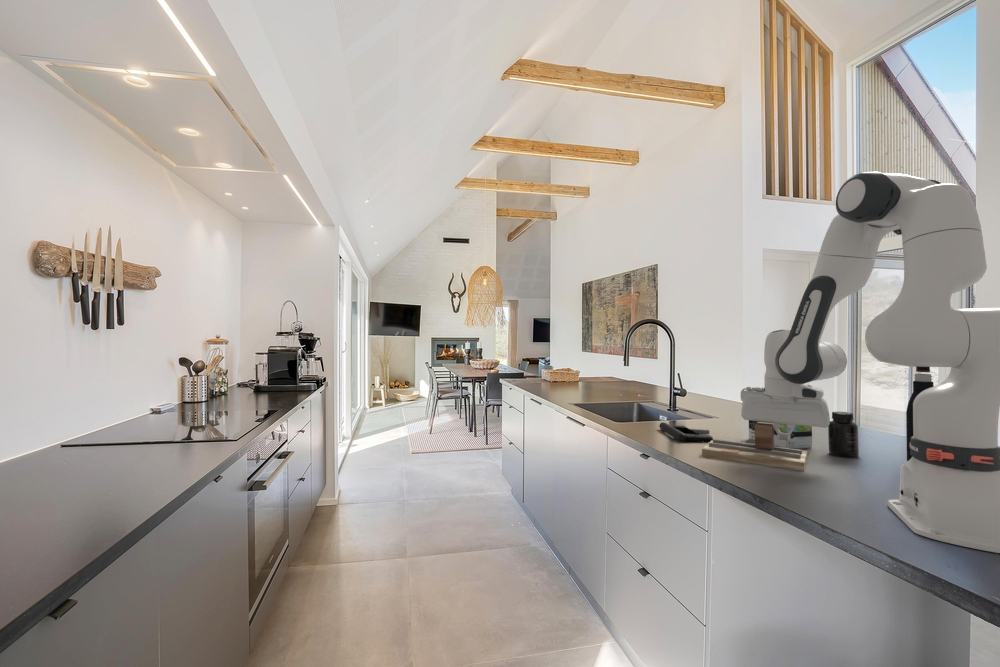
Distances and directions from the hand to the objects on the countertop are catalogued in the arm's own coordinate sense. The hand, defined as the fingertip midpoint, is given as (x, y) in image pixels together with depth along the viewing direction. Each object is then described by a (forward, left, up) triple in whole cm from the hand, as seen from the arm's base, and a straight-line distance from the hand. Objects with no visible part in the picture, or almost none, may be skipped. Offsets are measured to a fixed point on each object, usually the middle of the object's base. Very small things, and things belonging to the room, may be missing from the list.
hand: (783, 439), depth 121 cm
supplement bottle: (+17, -13, -6) cm, 22 cm away
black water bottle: (+11, -29, -6) cm, 31 cm away
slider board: (0, +7, -6) cm, 9 cm away
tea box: (+23, +3, -6) cm, 24 cm away
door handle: (+17, +29, -7) cm, 34 cm away
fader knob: (0, +4, -3) cm, 6 cm away
